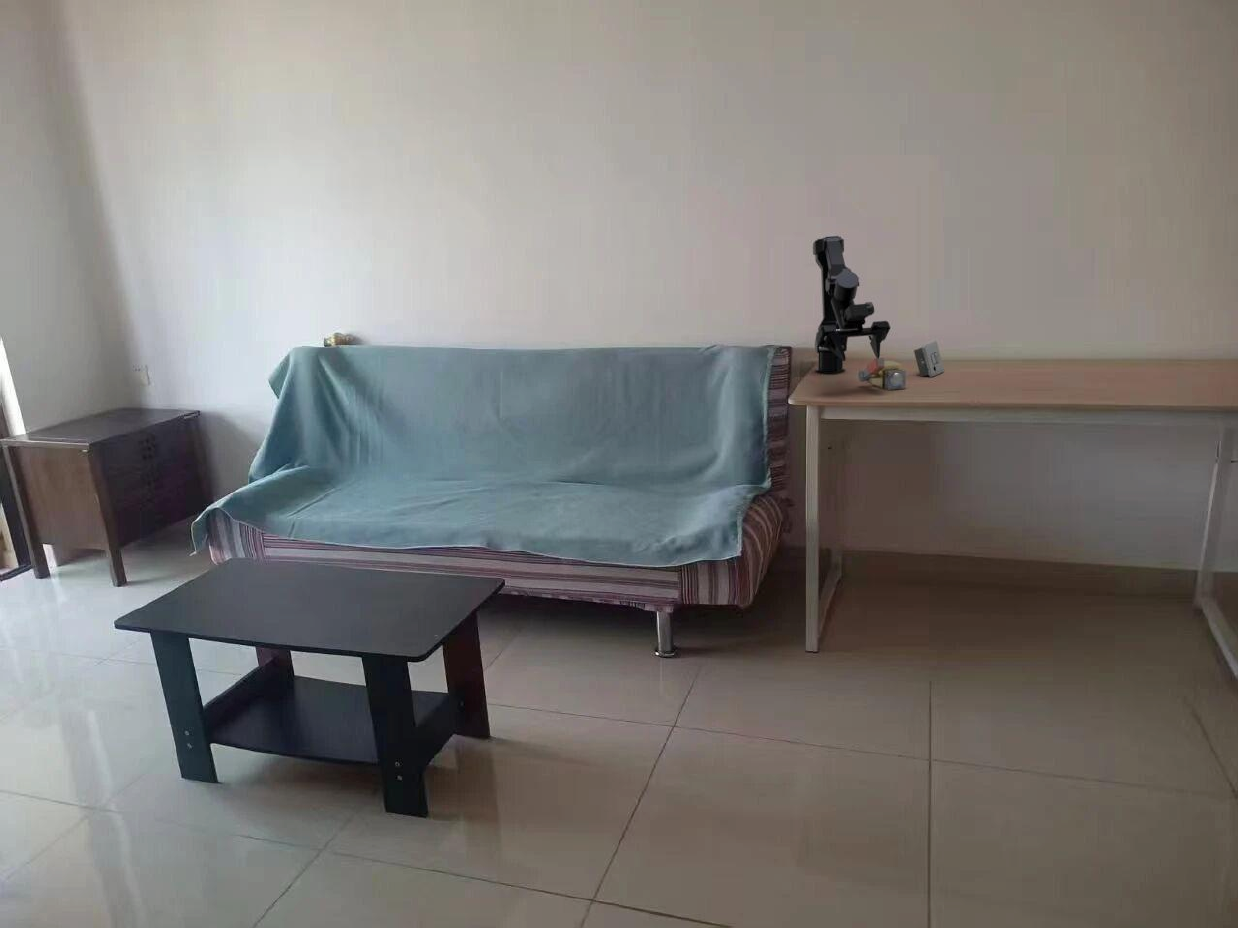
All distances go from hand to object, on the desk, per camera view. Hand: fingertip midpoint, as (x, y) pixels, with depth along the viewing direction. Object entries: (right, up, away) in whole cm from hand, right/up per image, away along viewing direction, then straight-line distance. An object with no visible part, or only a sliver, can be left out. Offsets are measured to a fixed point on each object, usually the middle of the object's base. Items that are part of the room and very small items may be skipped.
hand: (861, 358), depth 249 cm
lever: (+4, -4, +14) cm, 15 cm away
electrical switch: (+26, -2, +25) cm, 36 cm away
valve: (+9, -6, +14) cm, 17 cm away
